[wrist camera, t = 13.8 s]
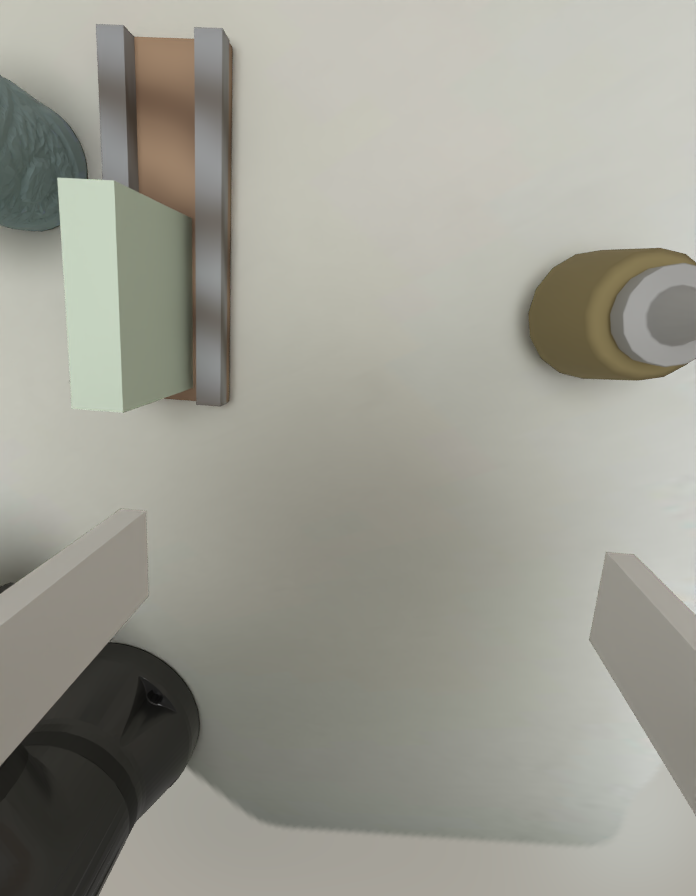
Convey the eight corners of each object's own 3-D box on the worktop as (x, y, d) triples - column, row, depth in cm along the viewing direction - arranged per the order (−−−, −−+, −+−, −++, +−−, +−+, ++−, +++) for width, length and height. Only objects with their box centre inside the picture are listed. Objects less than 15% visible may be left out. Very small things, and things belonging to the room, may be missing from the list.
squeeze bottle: (501, 281, 38) (592, 252, 21) (617, 238, 37) (815, 169, 20) (533, 388, 40) (641, 443, 23) (644, 350, 39) (850, 378, 21)
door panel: (193, 387, 41) (123, 412, 30) (150, 384, 41) (66, 408, 31) (191, 218, 38) (114, 180, 27) (146, 215, 38) (51, 177, 28)
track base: (230, 401, 42) (220, 406, 40) (128, 393, 43) (112, 398, 40) (233, 47, 36) (222, 28, 34) (115, 43, 37) (95, 24, 34)
